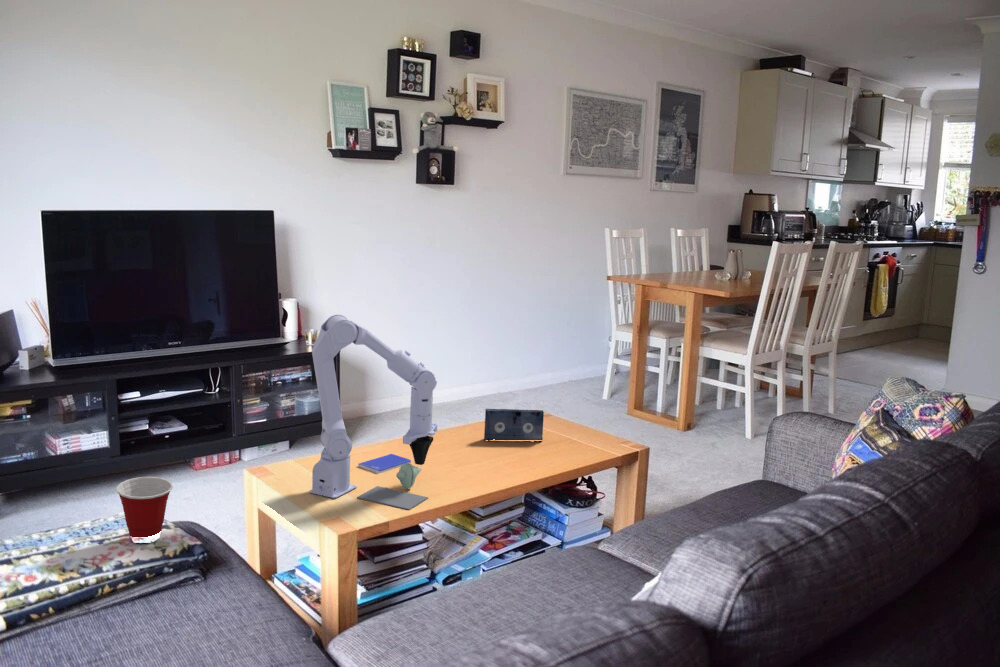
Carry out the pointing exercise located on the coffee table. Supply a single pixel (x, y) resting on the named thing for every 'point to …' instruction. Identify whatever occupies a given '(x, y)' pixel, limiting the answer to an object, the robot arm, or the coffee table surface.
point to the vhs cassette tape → (513, 424)
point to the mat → (393, 497)
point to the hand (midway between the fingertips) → (419, 463)
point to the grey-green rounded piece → (408, 475)
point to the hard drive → (384, 463)
